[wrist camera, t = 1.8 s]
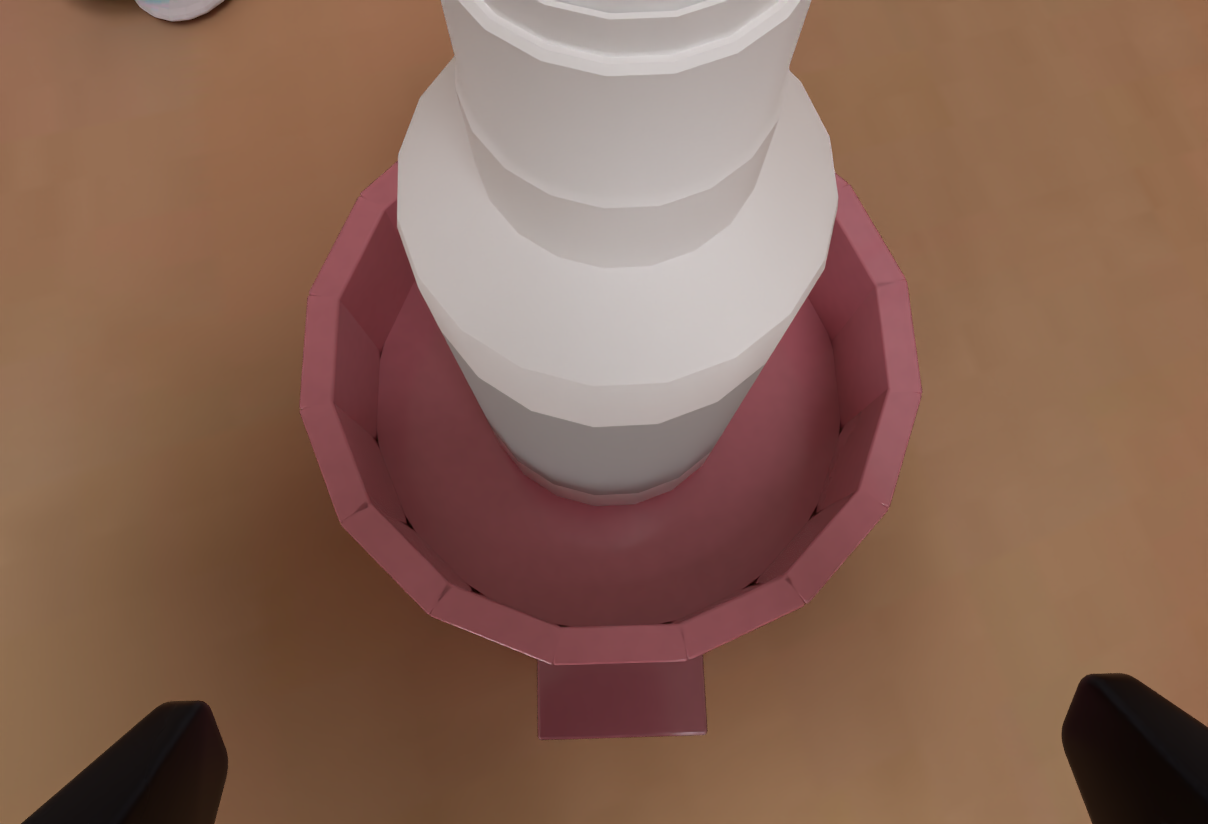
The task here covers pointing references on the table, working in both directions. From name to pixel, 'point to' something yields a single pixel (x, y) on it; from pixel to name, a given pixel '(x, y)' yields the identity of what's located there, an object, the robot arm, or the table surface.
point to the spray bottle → (615, 224)
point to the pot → (617, 532)
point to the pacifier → (177, 8)
